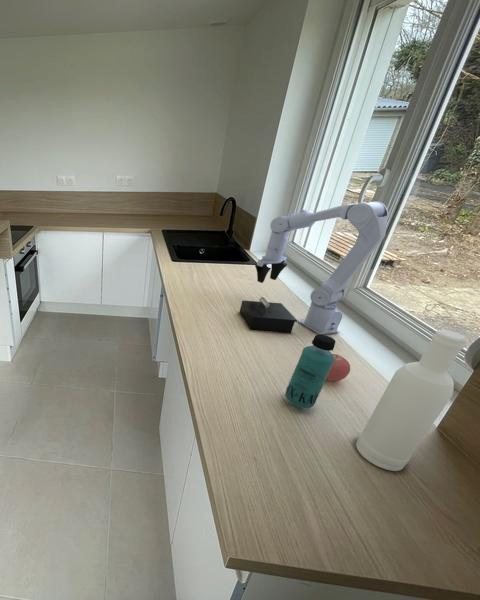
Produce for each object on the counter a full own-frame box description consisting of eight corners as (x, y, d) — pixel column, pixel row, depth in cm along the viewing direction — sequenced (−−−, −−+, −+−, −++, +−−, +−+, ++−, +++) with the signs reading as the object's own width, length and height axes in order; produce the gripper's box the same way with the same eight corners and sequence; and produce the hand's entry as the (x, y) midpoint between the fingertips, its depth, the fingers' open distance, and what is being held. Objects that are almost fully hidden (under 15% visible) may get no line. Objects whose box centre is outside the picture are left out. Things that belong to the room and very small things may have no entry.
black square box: (275, 315, 124) (278, 304, 122) (290, 333, 112) (294, 322, 110) (239, 312, 126) (241, 302, 124) (250, 330, 114) (253, 318, 112)
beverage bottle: (284, 391, 85) (309, 326, 76) (314, 403, 81) (344, 336, 73) (280, 405, 81) (305, 338, 72) (311, 418, 77) (342, 349, 68)
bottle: (356, 459, 67) (426, 337, 54) (353, 433, 73) (415, 318, 60) (407, 479, 63) (496, 353, 50) (399, 450, 69) (477, 331, 56)
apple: (329, 388, 86) (340, 364, 83) (305, 372, 93) (314, 349, 89) (350, 384, 88) (361, 360, 85) (325, 368, 95) (335, 345, 91)
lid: (280, 304, 122) (283, 294, 120) (296, 322, 110) (300, 310, 108) (241, 301, 124) (244, 291, 122) (253, 318, 112) (256, 307, 110)
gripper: (278, 243, 130) (269, 274, 136) (253, 247, 124) (245, 279, 130) (295, 248, 124) (285, 280, 130) (270, 252, 119) (261, 286, 125)
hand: (266, 280), depth 130 cm, fingers open, 7 cm apart
